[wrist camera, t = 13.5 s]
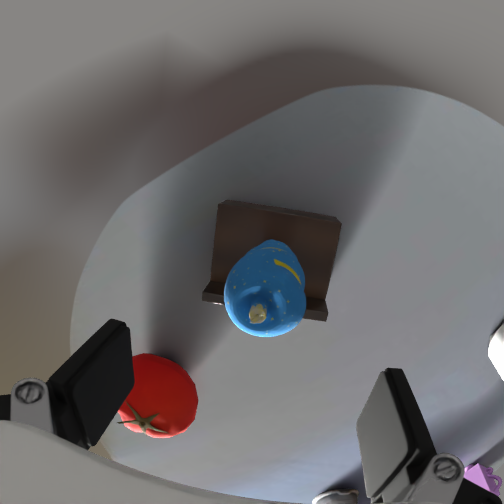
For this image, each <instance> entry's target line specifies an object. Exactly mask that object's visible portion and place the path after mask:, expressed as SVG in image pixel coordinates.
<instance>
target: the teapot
mask: <svg viewBox="0 0 504 504" xmlns="http://www.w3.org/2000/svg"><path fill="white" fill-rule="evenodd" d="M492 473H493V468H491V467H488V468H485V467H484V466H482V465H480V464H479V463H477V464H476V465H475V466H473V464H471V465H469V466H467V467H466V468H465V473H464V478H465V479H467V480H469V481H471V482H473V483H475V484H477V485H478V486H480V487H482V488H484V489H486V490H488V491H490V492H492V493H494V494H495V495H497V496H499V495H500V492H499V488H500V486H501V484H502V479H501V478H500V477H499V476H496V475H492ZM494 479H496V480H498V485H496V483H495V481H494Z"/></svg>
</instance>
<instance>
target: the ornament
mask: <svg viewBox="0 0 504 504" xmlns="http://www.w3.org/2000/svg"><path fill="white" fill-rule="evenodd" d="M304 287H305V276H304V272H303V269H302V267H301V265H300V264H299V262H298V260H297V257H296V256H295V254H294V253H293V252H292V251H291V249H290V248H289V247H288V246H287V245H286V244H285V243H283V242H280V241H276V240H273V239H270V240H266V241H264V242H263V243H262V244H260V245H258V246H257V247H255V248H253V249H251V250H250V251H249V252H247V254H246V255H245V256H244V257H242V258H241V259H240V260H239V261H238V262H237V263H236V264H235V265H234V267H233V268H232V269H231V271H230V273H229V275H228V277H227V280H226V284H225V288H224V302H225V307H226V310H227V312H228V314H229V316H230V318H231V320H232V321H233V322H234V323H235V324H236V326H238V327H239V328H240V329H241V330H243V331H245V332H247V333H249V334H251V335H255V336H261V337H273V336H277V335H281V334H284V333H286V332H288V331H290V330H292V329H293V328H294V327H296V326H297V325H298V324H299V322H300V321H301V320H302V318H303V316H304V313H305V310H306V297H305V293H304Z"/></svg>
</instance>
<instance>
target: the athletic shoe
mask: <svg viewBox="0 0 504 504" xmlns="http://www.w3.org/2000/svg"><path fill="white" fill-rule="evenodd" d="M358 495H359V492H358V490H356V489H336V490H330V491H327V492H323V493H321V494H319V495H318V496H316V497H315V498H314V499H313V501H312V504H357V503H358Z"/></svg>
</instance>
